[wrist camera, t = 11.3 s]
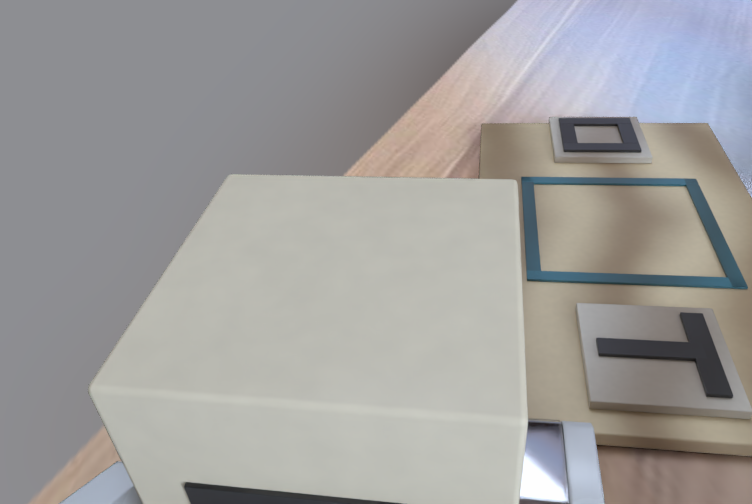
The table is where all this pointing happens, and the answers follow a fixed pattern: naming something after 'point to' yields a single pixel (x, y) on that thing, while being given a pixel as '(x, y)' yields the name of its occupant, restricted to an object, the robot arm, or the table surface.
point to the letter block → (330, 348)
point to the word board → (633, 279)
